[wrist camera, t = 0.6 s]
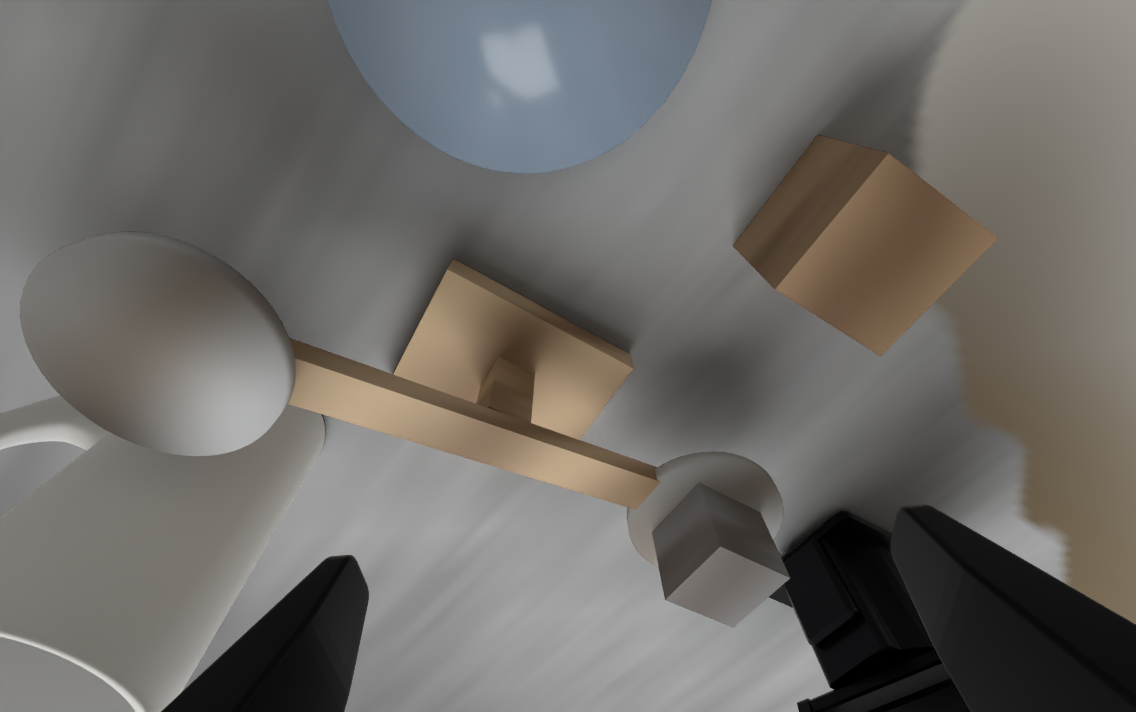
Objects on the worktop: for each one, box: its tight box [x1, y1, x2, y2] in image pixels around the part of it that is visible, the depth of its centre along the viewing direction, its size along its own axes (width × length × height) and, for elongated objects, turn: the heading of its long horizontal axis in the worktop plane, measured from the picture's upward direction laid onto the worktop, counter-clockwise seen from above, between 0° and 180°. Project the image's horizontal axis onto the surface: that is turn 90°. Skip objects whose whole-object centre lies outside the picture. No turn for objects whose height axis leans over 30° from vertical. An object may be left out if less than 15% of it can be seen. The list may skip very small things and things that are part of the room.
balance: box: [20, 231, 790, 627], centre depth 19 cm, size 24×6×8 cm, turn 59°
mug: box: [0, 395, 325, 712], centre depth 17 cm, size 10×7×12 cm, turn 56°
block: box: [733, 135, 998, 356], centre depth 18 cm, size 4×4×4 cm
